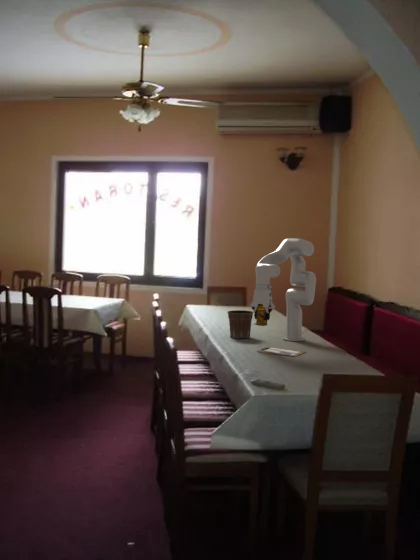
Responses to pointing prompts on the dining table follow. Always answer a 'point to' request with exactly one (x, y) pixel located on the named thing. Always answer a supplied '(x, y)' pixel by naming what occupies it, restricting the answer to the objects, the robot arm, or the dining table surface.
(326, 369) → the dining table surface
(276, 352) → the clipboard
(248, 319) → the plant pot
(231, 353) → the dining table surface
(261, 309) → the condiment
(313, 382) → the dining table surface
